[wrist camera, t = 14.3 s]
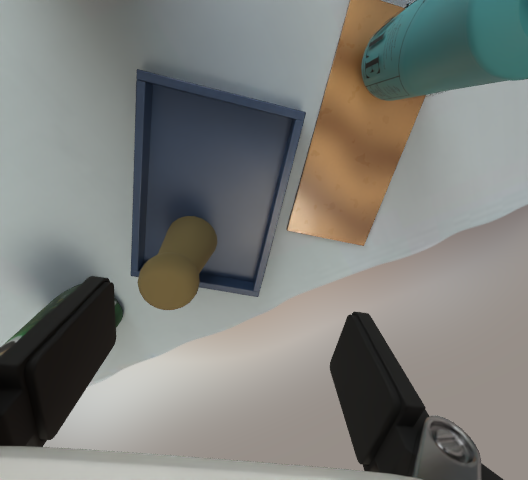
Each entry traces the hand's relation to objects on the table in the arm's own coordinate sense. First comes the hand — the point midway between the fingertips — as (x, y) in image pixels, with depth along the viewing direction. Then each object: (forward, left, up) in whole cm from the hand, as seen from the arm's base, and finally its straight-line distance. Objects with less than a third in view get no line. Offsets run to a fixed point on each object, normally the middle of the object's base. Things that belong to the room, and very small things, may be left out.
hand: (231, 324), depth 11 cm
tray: (+1, -4, -22) cm, 22 cm away
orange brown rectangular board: (-8, +11, -22) cm, 25 cm away
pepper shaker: (+7, -5, -22) cm, 23 cm away
